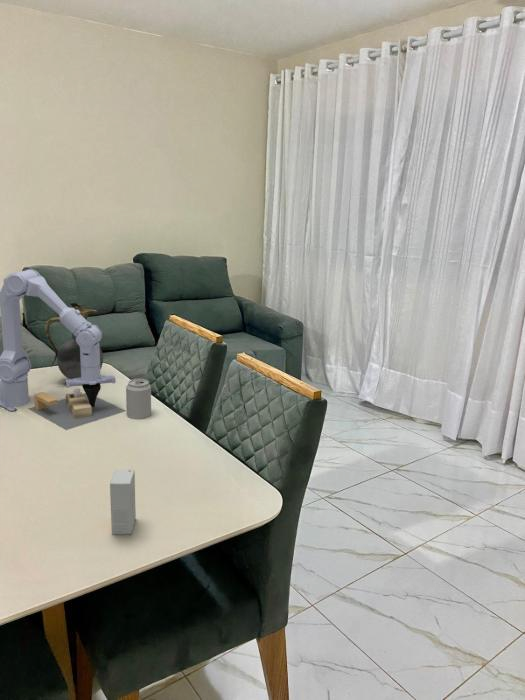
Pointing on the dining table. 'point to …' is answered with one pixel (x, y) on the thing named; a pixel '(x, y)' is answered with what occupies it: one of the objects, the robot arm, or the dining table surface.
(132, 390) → the can
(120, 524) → the skincare box
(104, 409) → the slate board
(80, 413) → the oak link
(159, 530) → the dining table surface
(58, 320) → the pitcher
